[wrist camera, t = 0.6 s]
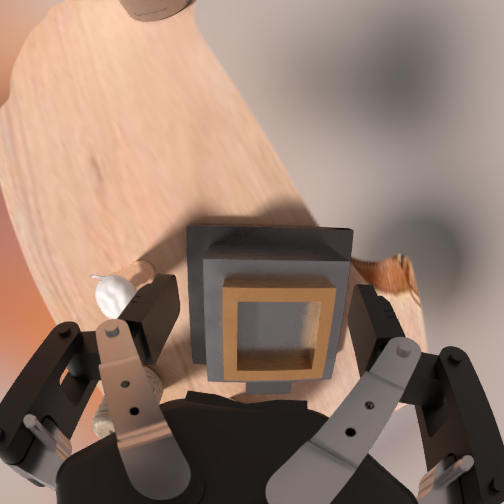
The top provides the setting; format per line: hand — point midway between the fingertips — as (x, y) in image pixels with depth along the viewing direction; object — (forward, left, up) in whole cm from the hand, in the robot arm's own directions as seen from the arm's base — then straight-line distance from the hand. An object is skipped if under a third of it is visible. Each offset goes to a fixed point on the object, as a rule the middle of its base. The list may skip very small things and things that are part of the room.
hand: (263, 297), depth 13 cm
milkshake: (+5, -13, -20) cm, 24 cm away
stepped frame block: (+8, +2, -20) cm, 21 cm away
